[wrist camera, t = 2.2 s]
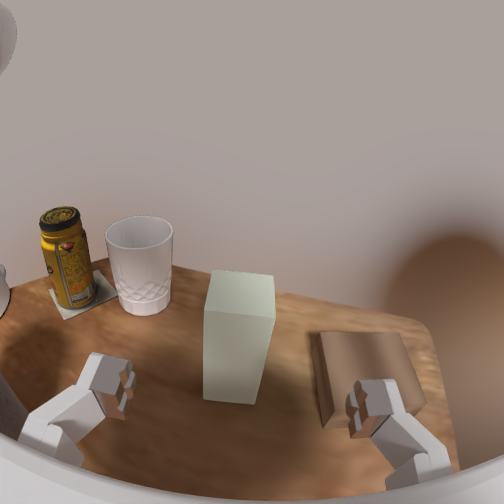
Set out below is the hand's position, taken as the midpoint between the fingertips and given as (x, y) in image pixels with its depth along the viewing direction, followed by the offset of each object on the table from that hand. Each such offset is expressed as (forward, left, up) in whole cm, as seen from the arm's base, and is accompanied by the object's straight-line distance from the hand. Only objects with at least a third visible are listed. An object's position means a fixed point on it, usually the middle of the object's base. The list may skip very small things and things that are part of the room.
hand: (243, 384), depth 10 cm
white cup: (-12, +23, -18) cm, 32 cm away
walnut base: (+14, +12, -18) cm, 26 cm away
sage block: (0, +12, -18) cm, 21 cm away
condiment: (-21, +22, -18) cm, 35 cm away
